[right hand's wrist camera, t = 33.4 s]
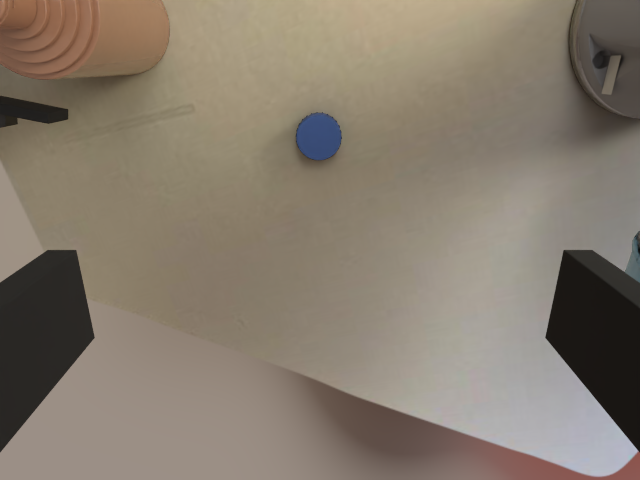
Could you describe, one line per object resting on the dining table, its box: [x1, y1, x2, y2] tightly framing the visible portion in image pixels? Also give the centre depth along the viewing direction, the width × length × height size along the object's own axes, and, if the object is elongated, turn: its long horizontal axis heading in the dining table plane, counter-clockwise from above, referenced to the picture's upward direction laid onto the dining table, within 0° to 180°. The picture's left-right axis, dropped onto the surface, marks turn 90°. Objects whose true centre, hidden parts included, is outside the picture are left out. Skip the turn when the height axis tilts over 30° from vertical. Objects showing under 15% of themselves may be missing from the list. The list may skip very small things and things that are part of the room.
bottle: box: [0, 0, 169, 80], centre depth 29 cm, size 8×8×17 cm
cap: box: [296, 112, 342, 160], centre depth 40 cm, size 4×4×2 cm
